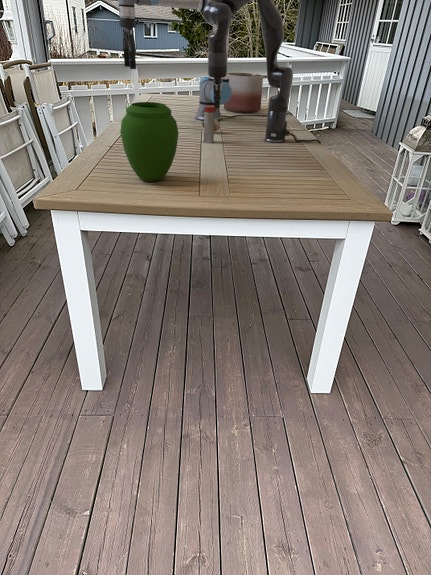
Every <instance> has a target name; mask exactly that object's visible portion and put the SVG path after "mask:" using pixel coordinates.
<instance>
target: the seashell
mask: <svg viewBox="0 0 431 575" xmlns="http://www.w3.org/2000/svg"><path fill="white" fill-rule="evenodd" d="M219 121H220V120H218V121H217V119H216V118H215V121H214V133H215V132H218V131H219V130H220V129H221V124H220V122H219ZM202 127H203V129H204V121H202Z"/></svg>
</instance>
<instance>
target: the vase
mask: <svg viewBox="0 0 431 575" xmlns="http://www.w3.org/2000/svg"><path fill="white" fill-rule="evenodd" d="M125 113H126V114H125V115H124V117H122V119H121V122H120V123H121V124H120V130H119V133H120V138H121V142H122V147H123V150H124V154H125V155H126V158H127V160H128V163H129V165H130V167H131V168H132V170H133V172H134V173H135V175H136V176H137V177H138V178H139V179H141V180H143V181H145V182H159V181H161V180H163V179H164V178H165V176H166V175H167V174H168V173H169V170H170V169H171V167H172V165H173V162H174V159H175V157H176V156H175V155H176V153H177V147H178V140H179V129H178V122H177V120H176V119H175V117H174V116H173V115H172V109H171V108H170V107H169V106H167V105H166V104H164V103H162V102H155V101H138V102H132V103H131V104H130V105H128V107H127V108H125Z"/></svg>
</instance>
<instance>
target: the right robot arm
mask: <svg viewBox="0 0 431 575" xmlns="http://www.w3.org/2000/svg"><path fill="white" fill-rule="evenodd" d="M251 1H252V0H210V1H209V2H208V3H207V4H206V5H205V7H204V11H203V12H202V15H203V19H204V21H205V22H206V23H207V24H210V25H212V26H213V25H217V31H213V30H212V31H211V32H210V33H209V34H208V38H207V40H208V50H207V75H208V77H209V76H210V77H213V78H214V79H213V94H214V98H213V99H214V108H215V109H219V110H220V108H221V105H220V99H221V90H222V83H223V79H221V78H223V77H225V76H226V75H227V73H228V63H227V35H228V31H229V32H230V26H231V23H232V21H231V19H232V14H233V15H234V14H235V13H238V12H239V10H242V8H243V7H245V6H246V5H247V4H248V3H249V2H251ZM256 3H257V9H258V13H259V15H258V16H259V20H260V27H261V34H262V40H263V45H264V52H265V61H266V63H265V64H266V76H267V78H266V79H267V82H268V86H270V88H274V89H279V90H278V93H277V94H275V95H274V94H273V95H271V96H270V97H269V99H268V107H267V114H266V115H267V116H266V125H265V126H266V127H265V134H264V141H266V142H268V143H269V142H270V143H283V142H285V141H286V137H289V136H292V138H293V139H294V141H295V142H297V143H300V142H305V143H310V142H311V143H312V142H317V143H319V144H322V141H320V140H319V139H314V138H313V139H297V138H296V135H295V134H293V133H292V132H290V130H289V129H287V126H288V121H287V115H288V114H287V113H288V106H289V100H290V97H291V93H292V92H291V91H292V86H293V81H294V71H293V69H292V68H291V67H290V66H284V65H283V66H282V65H279V63H278V54H279V52H280V50H281V49H280V48H281V46H282V45H283V42H284V39H285V30H284V29H285V28H284V22H283V17H282V15H281V13H280V11H279V9H278V7H277V6H276V5H275V3H274V2H273V0H256ZM215 94H216V96H215ZM286 114H287V115H286Z"/></svg>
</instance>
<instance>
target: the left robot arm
mask: <svg viewBox="0 0 431 575" xmlns="http://www.w3.org/2000/svg"><path fill="white" fill-rule="evenodd" d="M209 1H210V0H117V3H118V9H117V12H118V16H119V20H118V21H119V28H123V29H122V48H121V49H122V51H123V63H124V68H126V67H127V68H128V67H129V69H130V70H137V62H136V59H137V58H136V53H137V46H136V41H135V30H134V29H135V28H137V27H136V26H137V25H136V19H135V18H136V8H135V7H136V6H139V7H142V6H148V7H159V8H160V7H161V8H174V9H190V10H196V11H197V12H200V13H203V11H204V7H205V5H206V4H207V3H208V2H209ZM135 5H136V6H135ZM233 20H234V14H232V19H231V22H232V21H233ZM213 31H217V25H213V24H212V32H213ZM229 40H230V30H229V31H228V35H227V64H228V59H229ZM213 79H214V78H213V77H210V76H209V75H208V76H202V77H200V78H199V94H198V95H199V99H198V101H199V103H198V104H199V105H198V107H197V111H196V114H195V119H196V120H199V121H202V122H204V114H205V111H204V106H207V105H209V106H214V99H213V98H214V94H213ZM221 79H223V83H222V90H221V99H220V106H222V105H223V106H224V104H225V103H227V102H228V101H229V100H230V98H231V95H232V90H231V87H230V85H229V77H228V76H227V75H226V76H225V77H223V78H221ZM215 96H216V94H215ZM267 115H268V114H249V113H242V114H234V115H223V114H221V110H220V108H219V109H216V111H215V118H216V119H217V121H221V120H222V118H236V117H267ZM287 115H290V116H293V113H292V112H290V111H289V112H288V111H287V114H286V116H287Z"/></svg>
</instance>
